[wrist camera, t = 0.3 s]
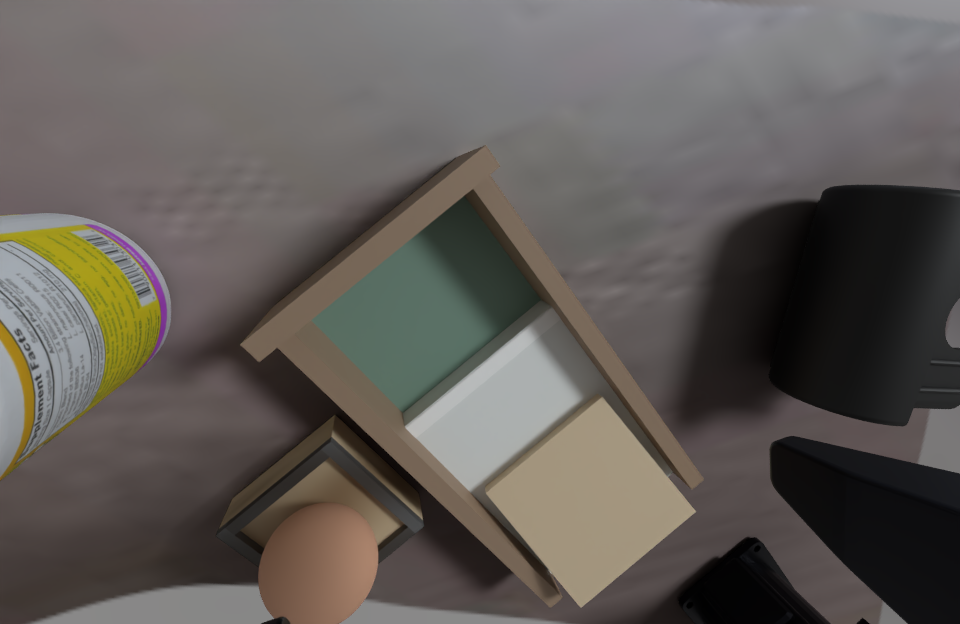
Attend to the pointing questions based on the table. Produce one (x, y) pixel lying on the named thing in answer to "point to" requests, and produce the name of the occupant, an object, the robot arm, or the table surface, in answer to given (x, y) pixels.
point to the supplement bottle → (69, 323)
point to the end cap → (874, 305)
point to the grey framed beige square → (324, 492)
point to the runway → (488, 384)
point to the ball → (318, 565)
